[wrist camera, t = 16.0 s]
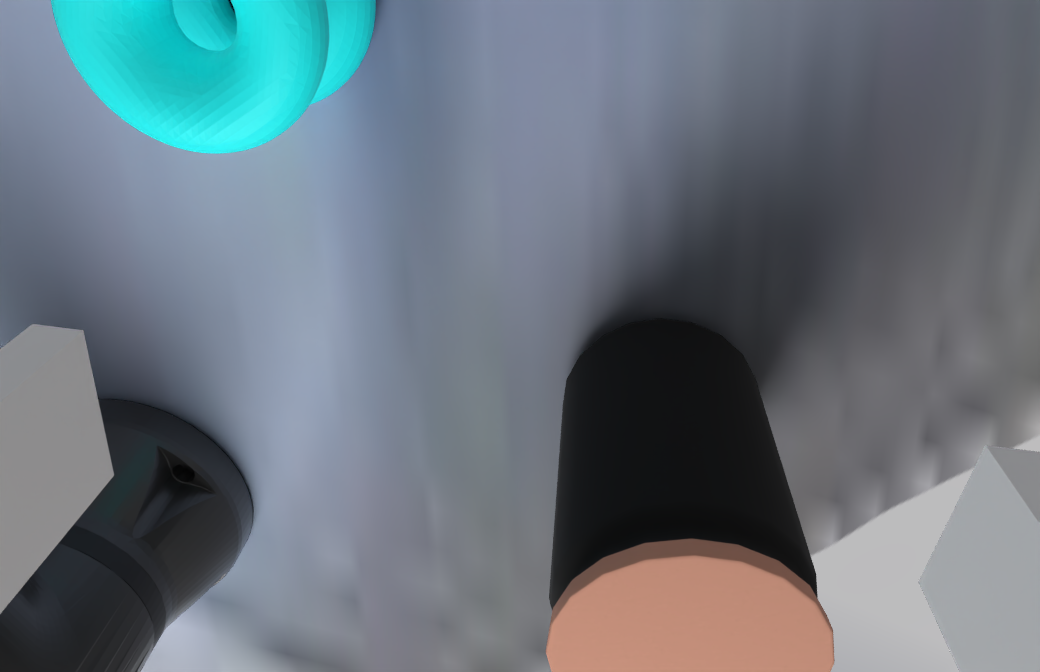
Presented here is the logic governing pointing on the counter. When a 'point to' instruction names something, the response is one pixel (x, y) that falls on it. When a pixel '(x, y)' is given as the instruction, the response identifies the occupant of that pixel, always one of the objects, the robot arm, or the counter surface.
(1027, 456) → the robot arm
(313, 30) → the donuts
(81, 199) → the counter surface
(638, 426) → the coffee jar
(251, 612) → the counter surface
